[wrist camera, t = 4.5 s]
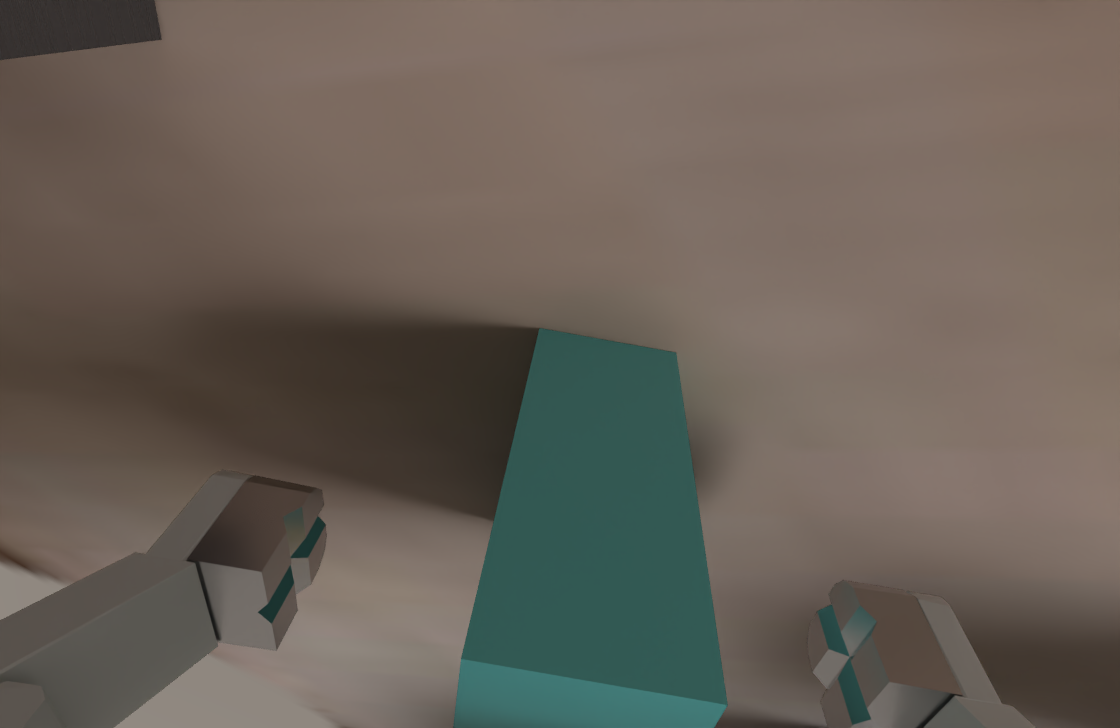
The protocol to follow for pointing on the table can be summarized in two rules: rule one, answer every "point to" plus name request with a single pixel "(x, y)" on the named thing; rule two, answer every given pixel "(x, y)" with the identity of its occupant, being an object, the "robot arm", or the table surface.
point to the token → (595, 555)
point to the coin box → (73, 25)
